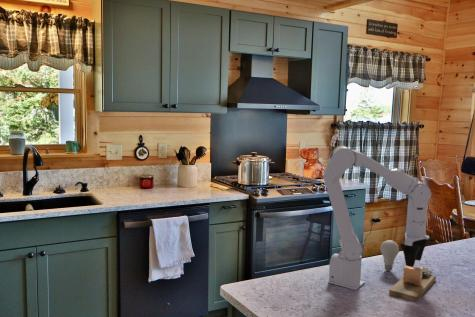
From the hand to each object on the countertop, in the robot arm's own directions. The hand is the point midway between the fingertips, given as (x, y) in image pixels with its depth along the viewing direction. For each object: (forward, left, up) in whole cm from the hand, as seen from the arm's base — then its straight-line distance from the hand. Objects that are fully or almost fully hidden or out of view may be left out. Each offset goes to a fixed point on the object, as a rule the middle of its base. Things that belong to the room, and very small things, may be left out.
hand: (413, 262), depth 140 cm
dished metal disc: (0, +10, -7) cm, 12 cm away
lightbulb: (-11, +11, -9) cm, 17 cm away
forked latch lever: (0, +6, -7) cm, 9 cm away
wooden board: (0, +2, -8) cm, 8 cm away
